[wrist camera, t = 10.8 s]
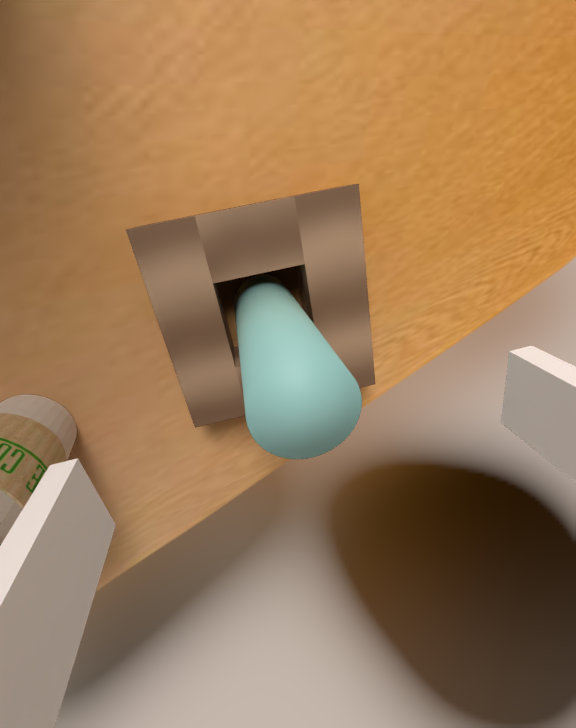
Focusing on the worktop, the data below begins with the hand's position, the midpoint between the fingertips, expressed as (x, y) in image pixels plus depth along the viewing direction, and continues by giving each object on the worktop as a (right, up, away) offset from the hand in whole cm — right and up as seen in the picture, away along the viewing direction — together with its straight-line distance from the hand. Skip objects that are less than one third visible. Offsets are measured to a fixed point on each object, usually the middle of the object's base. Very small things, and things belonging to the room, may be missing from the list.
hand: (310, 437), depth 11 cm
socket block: (-3, +7, +17) cm, 18 cm away
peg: (-3, +7, +17) cm, 18 cm away
